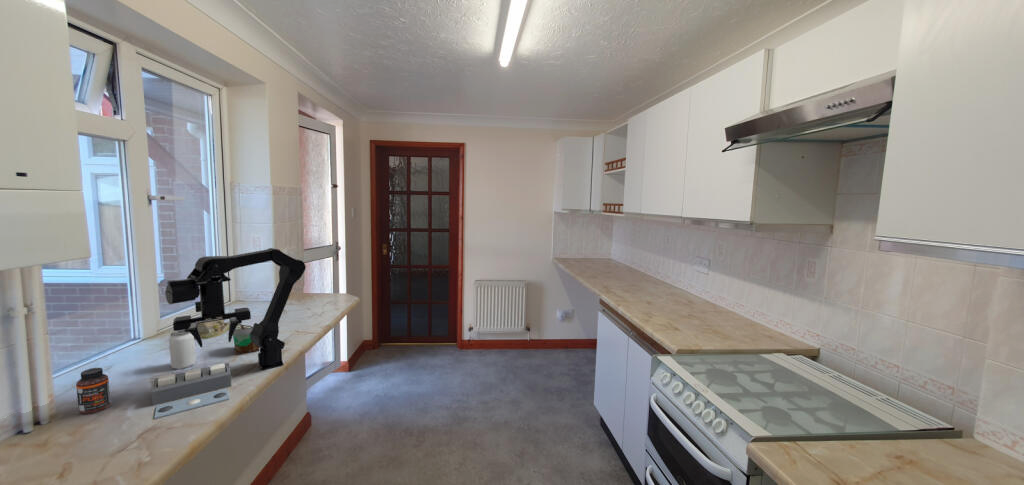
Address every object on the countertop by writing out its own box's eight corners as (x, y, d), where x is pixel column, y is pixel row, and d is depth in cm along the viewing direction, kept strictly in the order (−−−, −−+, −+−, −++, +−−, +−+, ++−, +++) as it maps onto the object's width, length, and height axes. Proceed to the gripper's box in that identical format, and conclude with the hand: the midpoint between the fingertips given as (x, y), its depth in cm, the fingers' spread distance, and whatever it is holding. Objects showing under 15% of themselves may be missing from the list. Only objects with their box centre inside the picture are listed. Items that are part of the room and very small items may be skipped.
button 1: (175, 379, 113) (175, 373, 113) (174, 384, 110) (174, 378, 110) (159, 383, 111) (158, 376, 110) (158, 388, 108) (157, 381, 108)
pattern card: (227, 389, 115) (227, 388, 114) (229, 399, 109) (229, 398, 109) (156, 407, 104) (156, 405, 104) (154, 419, 99) (154, 417, 99)
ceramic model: (210, 340, 152) (208, 317, 150) (183, 339, 152) (181, 316, 150) (235, 328, 166) (234, 306, 164) (210, 327, 166) (209, 306, 164)
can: (181, 370, 126) (178, 337, 124) (166, 368, 127) (163, 335, 125) (200, 362, 132) (198, 330, 130) (186, 360, 133) (183, 328, 132)
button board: (229, 374, 124) (228, 362, 124) (231, 386, 117) (230, 374, 116) (155, 390, 113) (154, 378, 112) (152, 405, 105) (151, 392, 105)
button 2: (224, 368, 121) (224, 363, 120) (225, 372, 118) (225, 367, 118) (210, 371, 118) (210, 366, 118) (210, 376, 116) (210, 370, 115)
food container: (224, 351, 141) (222, 326, 140) (240, 345, 147) (239, 321, 146) (244, 357, 137) (243, 331, 136) (261, 351, 142) (260, 326, 141)
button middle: (201, 373, 117) (200, 368, 117) (201, 378, 114) (200, 372, 114) (185, 377, 114) (185, 371, 114) (185, 381, 112) (185, 375, 112)
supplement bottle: (81, 417, 99) (76, 378, 97) (76, 410, 102) (72, 371, 100) (113, 407, 104) (109, 369, 102) (108, 400, 107) (104, 363, 105)
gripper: (246, 287, 127) (249, 330, 129) (173, 295, 115) (177, 343, 117) (249, 294, 119) (252, 340, 121) (171, 304, 107) (175, 355, 109)
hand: (215, 344), depth 117 cm, fingers open, 7 cm apart
